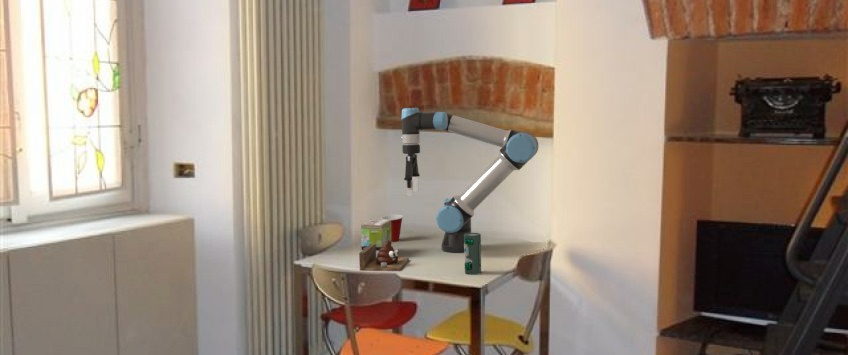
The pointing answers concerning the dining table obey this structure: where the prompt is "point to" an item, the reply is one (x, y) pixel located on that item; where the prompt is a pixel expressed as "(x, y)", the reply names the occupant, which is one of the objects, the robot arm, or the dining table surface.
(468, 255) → the can
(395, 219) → the plastic cup
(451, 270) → the dining table surface
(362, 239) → the tea box
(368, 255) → the ledge
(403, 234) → the dining table surface
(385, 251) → the poop emoji
